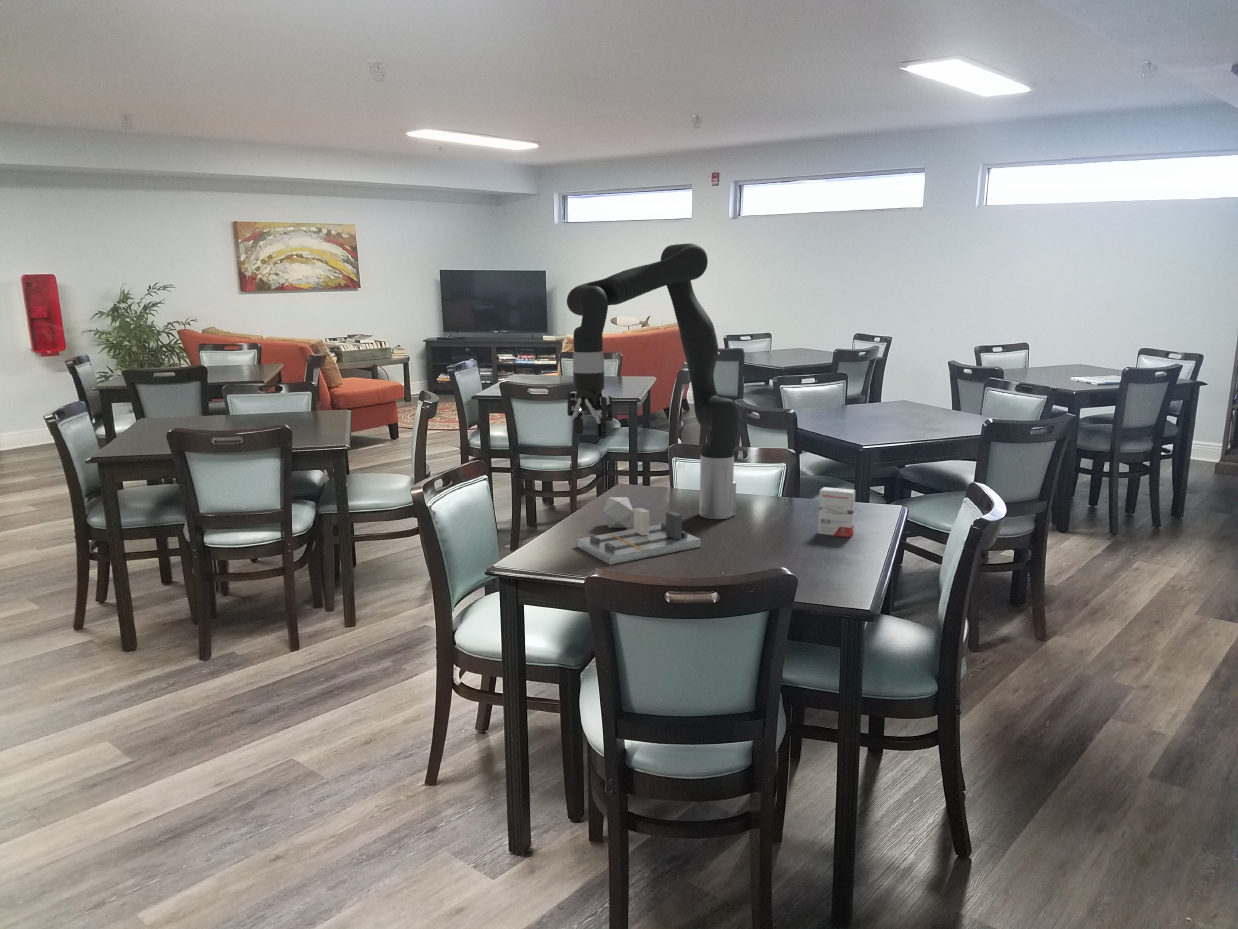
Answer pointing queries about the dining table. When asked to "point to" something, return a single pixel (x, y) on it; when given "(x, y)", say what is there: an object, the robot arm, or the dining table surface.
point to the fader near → (674, 525)
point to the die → (618, 512)
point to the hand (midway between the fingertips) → (590, 436)
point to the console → (635, 544)
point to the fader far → (641, 521)
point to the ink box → (836, 512)
